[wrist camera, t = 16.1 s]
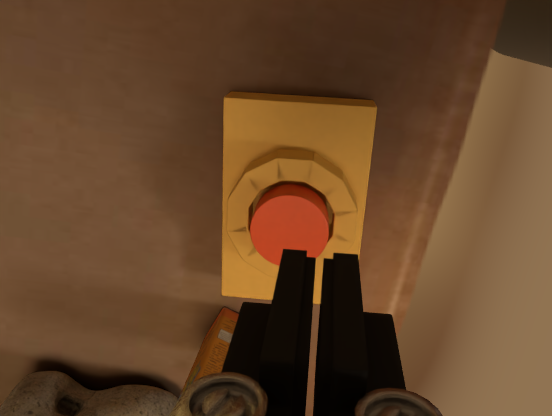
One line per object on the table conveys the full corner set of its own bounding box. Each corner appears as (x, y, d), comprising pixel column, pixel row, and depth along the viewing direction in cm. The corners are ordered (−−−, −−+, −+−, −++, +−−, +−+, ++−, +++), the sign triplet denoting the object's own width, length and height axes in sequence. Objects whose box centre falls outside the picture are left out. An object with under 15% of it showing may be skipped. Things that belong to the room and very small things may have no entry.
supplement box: (220, 301, 34) (181, 412, 25) (266, 325, 34) (244, 443, 25) (199, 337, 35) (153, 455, 26) (243, 360, 36) (213, 484, 26)
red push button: (331, 186, 27) (332, 198, 25) (325, 255, 28) (325, 270, 27) (255, 181, 27) (250, 192, 25) (253, 249, 28) (248, 264, 27)
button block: (373, 99, 28) (380, 114, 25) (351, 289, 33) (354, 324, 29) (230, 91, 29) (216, 103, 25) (227, 278, 33) (215, 312, 30)
